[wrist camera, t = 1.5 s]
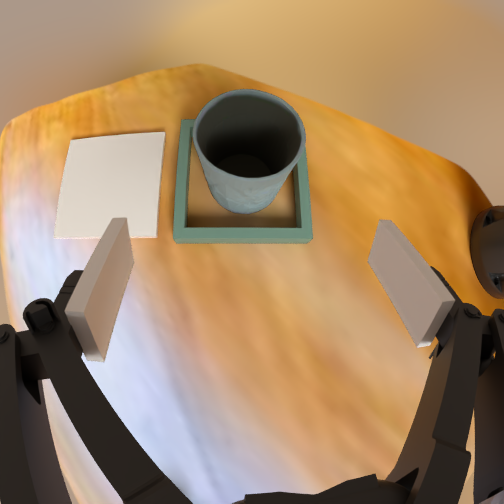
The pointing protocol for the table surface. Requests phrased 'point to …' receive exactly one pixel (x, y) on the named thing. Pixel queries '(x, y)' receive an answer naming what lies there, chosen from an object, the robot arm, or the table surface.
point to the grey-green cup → (247, 147)
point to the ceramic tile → (111, 185)
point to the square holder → (238, 234)
